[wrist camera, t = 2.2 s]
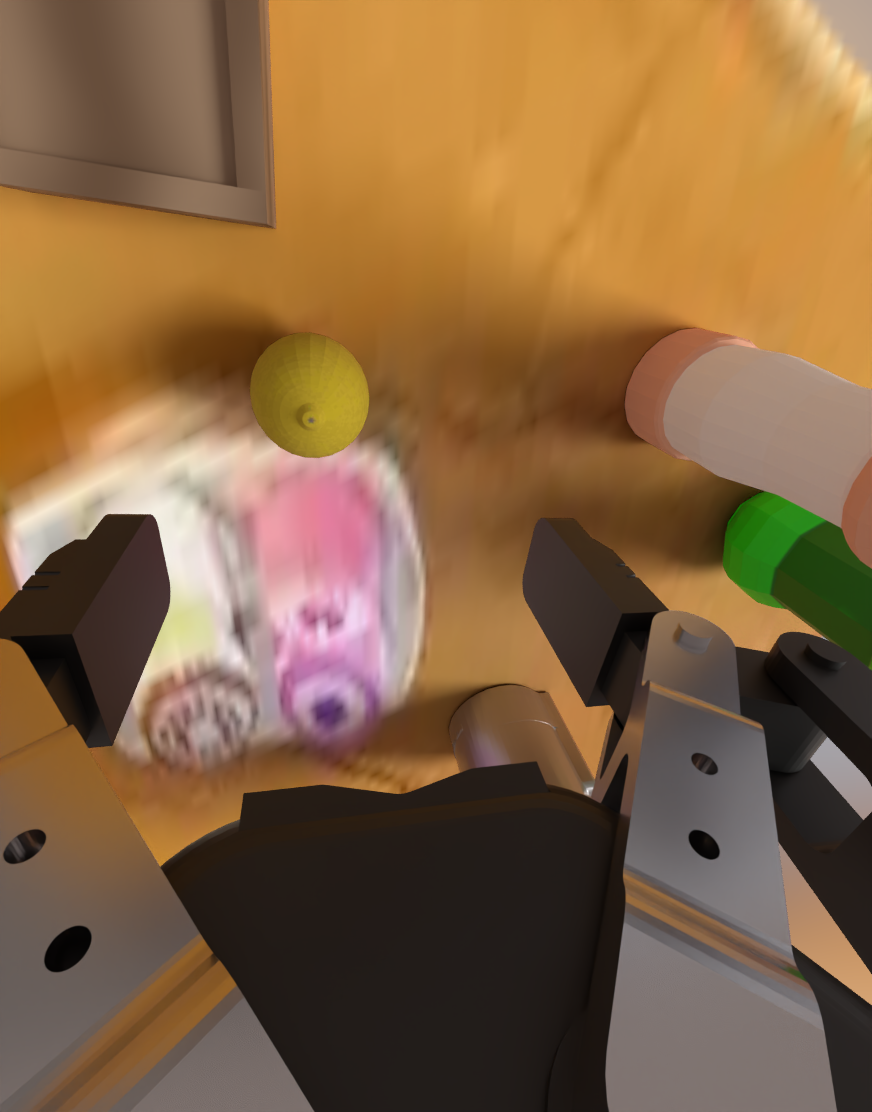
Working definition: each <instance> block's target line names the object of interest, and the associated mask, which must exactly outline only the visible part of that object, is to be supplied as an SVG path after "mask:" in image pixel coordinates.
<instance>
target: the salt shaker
mask: <svg viewBox="0 0 872 1112" xmlns="http://www.w3.org/2000/svg"><path fill="white" fill-rule="evenodd" d="M625 411H626V416H627V422H628V423H629V425H630V427H631V428H632V430H633V431H634V433H635V434H636V435H638V436H639V437H641V438H642V439H643V440H645V441H646V442H648V443H650V444H652V445H653V446H655V447H657V448H659V449H660V450H662V451H664V452H665V453H667V454H669V455H671V456H672V457H674V458H677V459H683V460H688V461H692V460H693V461H694V462H696V463H698V464H699V465H701V466H703V467H704V468H706V469H707V470H709V471H711V472H712V473H714V474H715V475H717V476H719V477H722V478H725V479H729V480H732V481H735V482H738V483H741V484H744V485H748V486H751V487H754V488H757V489H760V490H763V491H766V492H770V493H773V494H776V495H779V496H781V497H782V498H784V499H786V500H788V501H790V502H792V503H794V504H796V505H798V506H800V507H802V508H804V509H806V510H808V511H809V512H811V513H813V514H815V515H817V516H819V517H821V518H823V519H825V520H827V521H829V522H831V523H833V524H835V525H836V526H838V527H840V528H842V530H843V533H844V536H845V539H846V542H847V543H848V545H849V547H850V549H851V550H852V551H853V553H854V554H855V555H856V556H857V557H858V558H859V560H860V561H862V562H863V563H864V564H866V565H867V566H868V567H870V568H871V569H872V389H868V388H865V387H861V386H858V385H856V384H854V383H852V382H850V381H848V380H845V379H843V378H841V377H839V376H837V375H835V374H833V373H831V372H828V371H826V370H824V369H822V368H820V367H818V366H816V365H814V364H812V363H809V362H807V361H805V360H803V359H801V358H798V357H795V356H791V355H788V354H784V353H779V352H773V351H768V350H762V349H759V348H757V347H756V346H755V345H754V344H753V343H752V342H751V341H750V340H747V339H743V338H740V337H736V336H732V335H728V334H723V333H718V332H713V331H708V330H704V329H699V328H693V329H685V330H679V331H677V332H675V333H673V334H671V335H668V336H666V337H664V338H662V339H661V340H660V341H659V342H658V343H656V344H655V345H654V346H653V347H652V348H651V349H650V350H648V351H647V352H646V354H645V355H644V356H643V358H642V359H641V361H640V362H639V363H638V365H637V366H636V368H635V369H634V371H633V374H632V376H631V379H630V381H629V384H628V386H627V391H626V398H625Z"/></svg>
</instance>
